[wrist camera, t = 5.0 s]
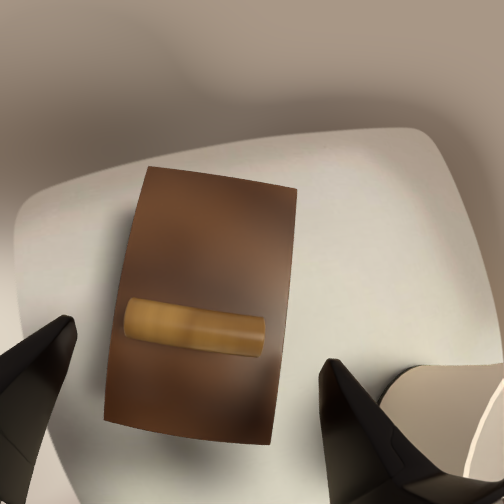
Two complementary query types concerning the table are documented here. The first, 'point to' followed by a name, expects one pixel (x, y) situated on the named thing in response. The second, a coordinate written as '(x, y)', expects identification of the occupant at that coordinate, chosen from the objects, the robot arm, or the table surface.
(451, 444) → the mug
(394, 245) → the table surface
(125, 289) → the lid
